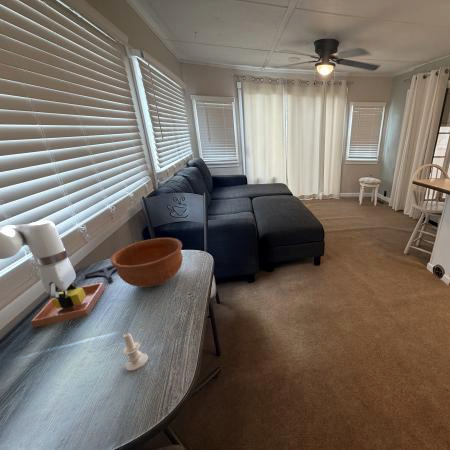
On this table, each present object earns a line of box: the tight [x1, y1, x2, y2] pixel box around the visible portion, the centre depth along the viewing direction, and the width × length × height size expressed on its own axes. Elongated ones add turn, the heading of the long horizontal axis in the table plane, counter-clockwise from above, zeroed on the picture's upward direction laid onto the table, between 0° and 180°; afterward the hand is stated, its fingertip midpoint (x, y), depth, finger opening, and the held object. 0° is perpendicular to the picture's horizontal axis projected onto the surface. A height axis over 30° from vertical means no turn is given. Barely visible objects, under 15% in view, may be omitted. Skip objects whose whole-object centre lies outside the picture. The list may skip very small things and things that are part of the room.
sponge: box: [51, 288, 86, 309], centre depth 86 cm, size 7×4×4 cm, turn 112°
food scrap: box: [58, 307, 75, 314], centre depth 82 cm, size 4×4×2 cm
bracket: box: [83, 264, 117, 284], centre depth 105 cm, size 14×15×3 cm
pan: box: [30, 282, 106, 328], centre depth 87 cm, size 14×17×3 cm
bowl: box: [109, 237, 183, 288], centre depth 98 cm, size 25×25×15 cm
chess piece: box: [122, 332, 149, 372], centre depth 63 cm, size 5×5×10 cm
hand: (71, 301), depth 86 cm, fingers closed on sponge, 4 cm apart
